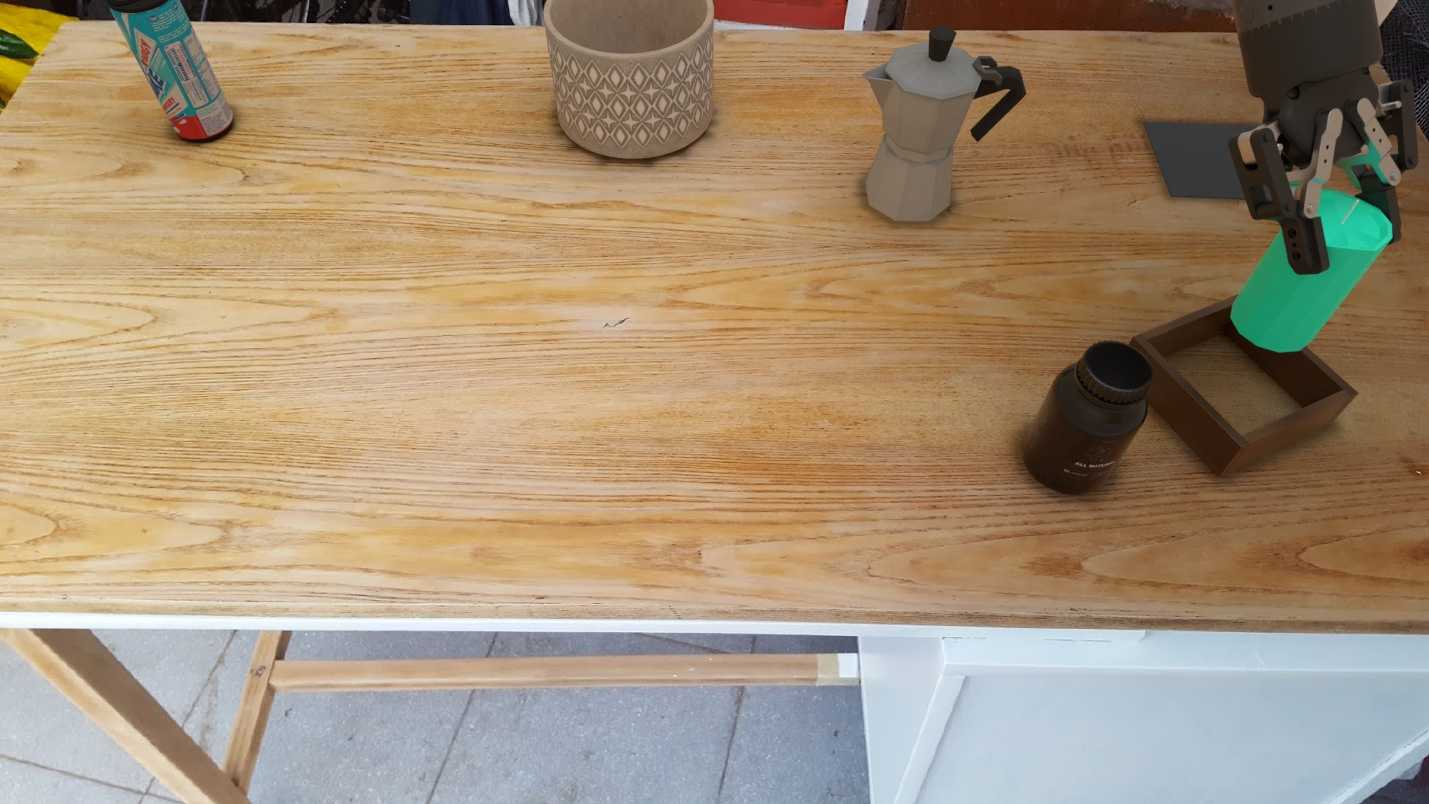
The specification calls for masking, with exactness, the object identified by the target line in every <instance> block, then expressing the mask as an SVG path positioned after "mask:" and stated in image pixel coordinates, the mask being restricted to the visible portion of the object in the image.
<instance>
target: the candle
mask: <svg viewBox="0 0 1429 804" xmlns="http://www.w3.org/2000/svg"><path fill="white" fill-rule="evenodd" d="M1318 216H1321V220H1322V225H1323V231H1324V236H1325V241H1326V247H1327V252H1328V257H1329V262H1330V267H1329V269H1328V270H1326V271H1324V272H1322V273H1319V274H1310V275H1298V274H1296V273H1295V272H1294V271H1293V269H1292V268H1291V266H1290V265H1289V263H1288V259H1287V253H1286V248H1285V244H1284V238H1283V233H1282V229H1281V228H1280V230H1279V231H1278V232H1277V234H1276V236H1275V237H1274V239H1273V240H1272V242H1271V244H1270V245H1269V247H1268V248H1267V250H1266V251H1265V253H1264V254H1263V256H1262V258H1261V259H1260V261H1259V262H1258V264H1257V265H1256V267H1255V268H1254V270H1253V272H1252V273H1251V274H1250V276H1249V278H1248V279H1247V281H1246V282H1245V283H1244V285H1243V287H1242V288H1241V290H1240V292H1239V293H1238V294H1239V295H1238V294H1237V295H1238V296H1237V298H1236V300H1235V301H1234V303H1233V305H1232V311H1231V317H1230V318H1231V320H1232V322H1233V323H1234V325H1235V327H1236V329H1237V330H1238V332H1239V333H1240V334H1241V335H1243V336H1244V337H1245V338H1247V339H1248V340H1249V341H1251V342H1252V343H1254V344H1255V345H1256V346H1259V347H1262V348H1266V349H1269V350H1272V351H1276V352H1292V351H1300V350H1301V349H1302V348H1304V347H1305V346H1308V345H1309V344H1311V343H1312V342H1313V341H1314V339H1315V338H1317V335H1319V333H1320V332H1321V330H1322V329H1323V328H1324V326H1325V325H1326V324H1327V322H1328V321H1329V320H1330V319H1331V317H1332V316H1333V315H1334V314H1335V312H1336V311H1337V310H1338V308H1339V307H1340V306H1341V305H1342V303H1343V302H1344V301H1345V299H1346V298H1348V296H1349V294H1350V293H1351V292H1352V291H1353V289H1354V288H1355V287H1356V285H1358V283H1359V281H1360V280H1361V279H1362V278H1363V276H1364V275H1365V274H1366V272H1367V271H1368V270H1369V268H1371V266H1372V265H1373V263H1374V262H1375V261H1376V260H1377V258H1378V257H1379V256H1380V255H1381V253H1382V252H1383V250H1384V249H1385V248H1386V247H1387V246H1388V245H1387V244H1388V243H1389V241H1390V240H1391V239H1392V224H1391V222H1390V221H1389V220H1388V219H1387V218H1386V216H1385V215H1384V214H1383V213H1382V211H1381V210H1380V209H1378V208H1377V207H1375V206H1373V205H1371V204H1369V203H1367V202H1365V201H1363V200H1361V199H1359V198H1356V197H1355V196H1353V195H1351V194H1347V193H1344V192H1341V191H1340V190H1339V191H1338V190H1336V189H1328V188H1327V189H1326V188H1322V189H1321V196H1320V202H1319V208H1318V213H1317V215H1316V216H1315V217H1318Z"/></svg>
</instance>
